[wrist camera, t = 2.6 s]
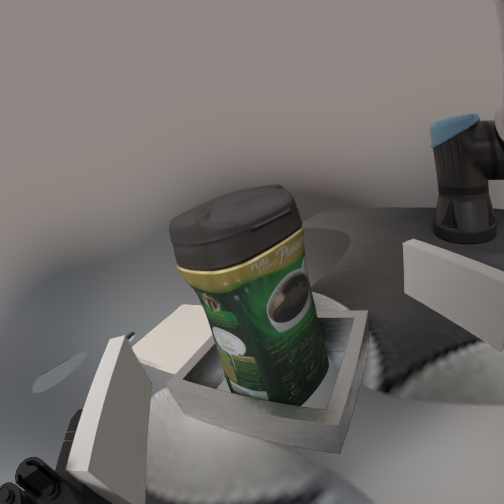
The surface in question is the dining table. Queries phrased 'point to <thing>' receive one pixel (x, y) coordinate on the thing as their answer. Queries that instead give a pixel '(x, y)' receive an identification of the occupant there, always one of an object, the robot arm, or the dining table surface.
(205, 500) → the dining table surface
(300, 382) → the coffee jar
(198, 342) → the placemat
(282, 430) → the collar stand
